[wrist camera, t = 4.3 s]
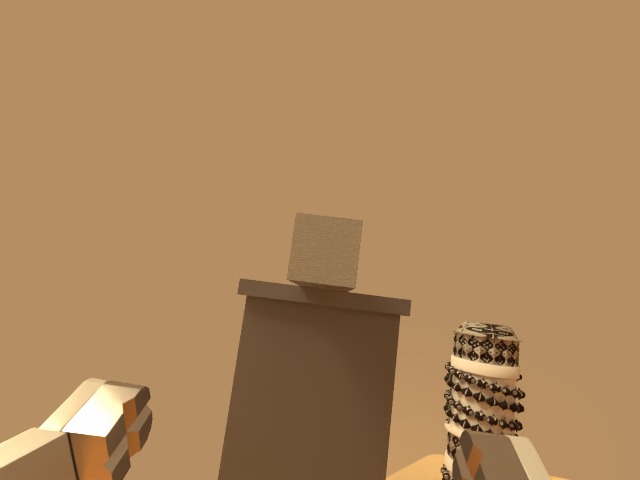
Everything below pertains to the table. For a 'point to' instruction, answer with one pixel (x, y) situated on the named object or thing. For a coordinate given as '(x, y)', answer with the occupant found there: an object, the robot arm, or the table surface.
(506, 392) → the decorative candle
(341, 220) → the brown wooden bar
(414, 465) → the table surface
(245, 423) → the pedestal
